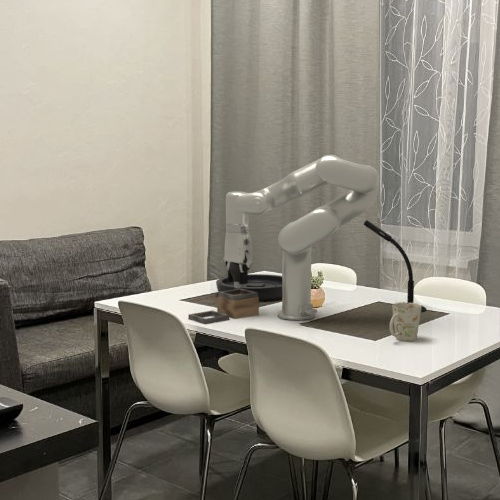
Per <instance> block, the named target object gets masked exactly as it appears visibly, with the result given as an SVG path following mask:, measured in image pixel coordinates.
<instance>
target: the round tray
mask: <svg viewBox="0 0 500 500" xmlns="http://www.w3.org/2000/svg"><path fill="white" fill-rule="evenodd" d="M215 285H216V289H217V293H218V292H221V291H228V290H235V289H236V288H235V287H234V281H233V282H228V276H224V277H221V278H218V279H217V280H216V282H215ZM239 289H244V290H249V291H253V292H257V293H258V297H259V301H264V302H273V301H280V300H281V301H282V275H277V274H264V273H263V274H262V273H255V274H254V273H249V274H248V283H247V284H241V288H239Z"/></svg>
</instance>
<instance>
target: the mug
mask: <svg viewBox="0 0 500 500" xmlns="http://www.w3.org/2000/svg"><path fill="white" fill-rule="evenodd" d="M421 314H422V312H421V304H419V303H415V302H414V303H407V302H405V303H403V302H395V303H393V304H392V317H391V319H390V322H389V332H390V334H391V336H392V337H394V338H395V340H397V341H400V342H414V341H416V340H417V338H418V332H419V326H420V319H421Z"/></svg>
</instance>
